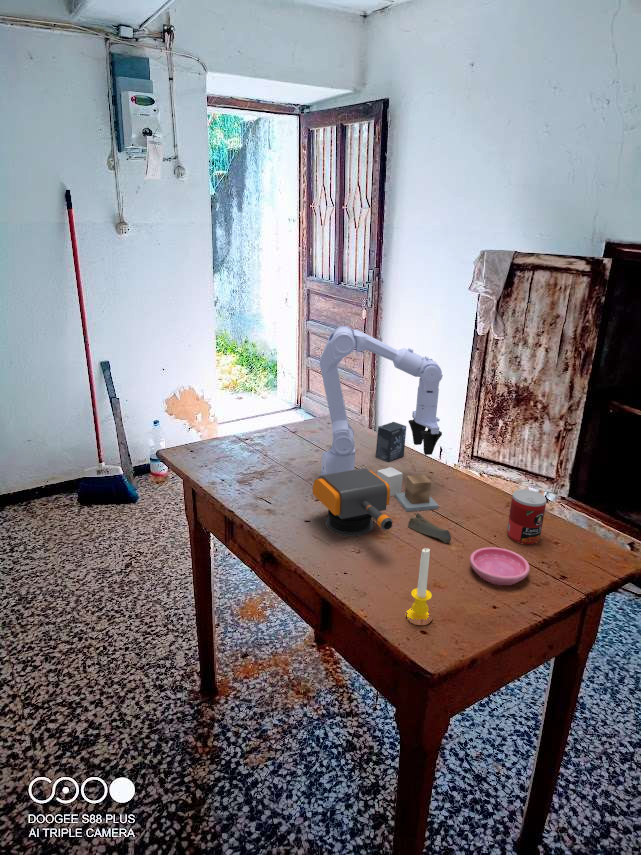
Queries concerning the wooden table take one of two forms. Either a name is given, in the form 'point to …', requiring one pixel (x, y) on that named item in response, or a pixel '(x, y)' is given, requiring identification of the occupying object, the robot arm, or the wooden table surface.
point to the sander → (353, 501)
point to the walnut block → (417, 489)
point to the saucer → (499, 565)
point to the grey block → (391, 479)
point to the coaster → (415, 507)
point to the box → (390, 441)
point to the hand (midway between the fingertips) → (422, 449)
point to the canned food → (526, 516)
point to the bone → (429, 528)
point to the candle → (421, 590)
